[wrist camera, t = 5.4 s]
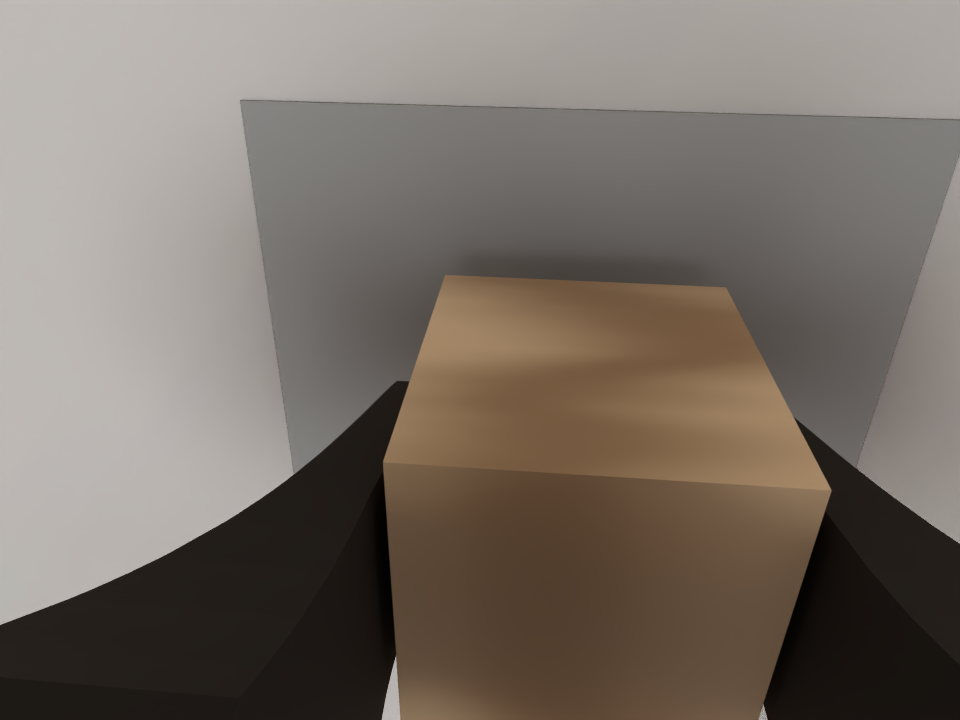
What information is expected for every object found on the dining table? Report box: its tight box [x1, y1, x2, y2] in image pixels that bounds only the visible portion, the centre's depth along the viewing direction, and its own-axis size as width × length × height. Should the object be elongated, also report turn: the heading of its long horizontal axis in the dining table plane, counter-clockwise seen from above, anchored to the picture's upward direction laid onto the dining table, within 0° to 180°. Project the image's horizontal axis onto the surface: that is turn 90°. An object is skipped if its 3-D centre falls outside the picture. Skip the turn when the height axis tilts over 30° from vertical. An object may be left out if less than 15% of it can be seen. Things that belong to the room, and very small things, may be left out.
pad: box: [240, 100, 960, 474], centre depth 14 cm, size 12×9×1 cm
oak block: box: [383, 275, 832, 720], centre depth 11 cm, size 4×4×5 cm
